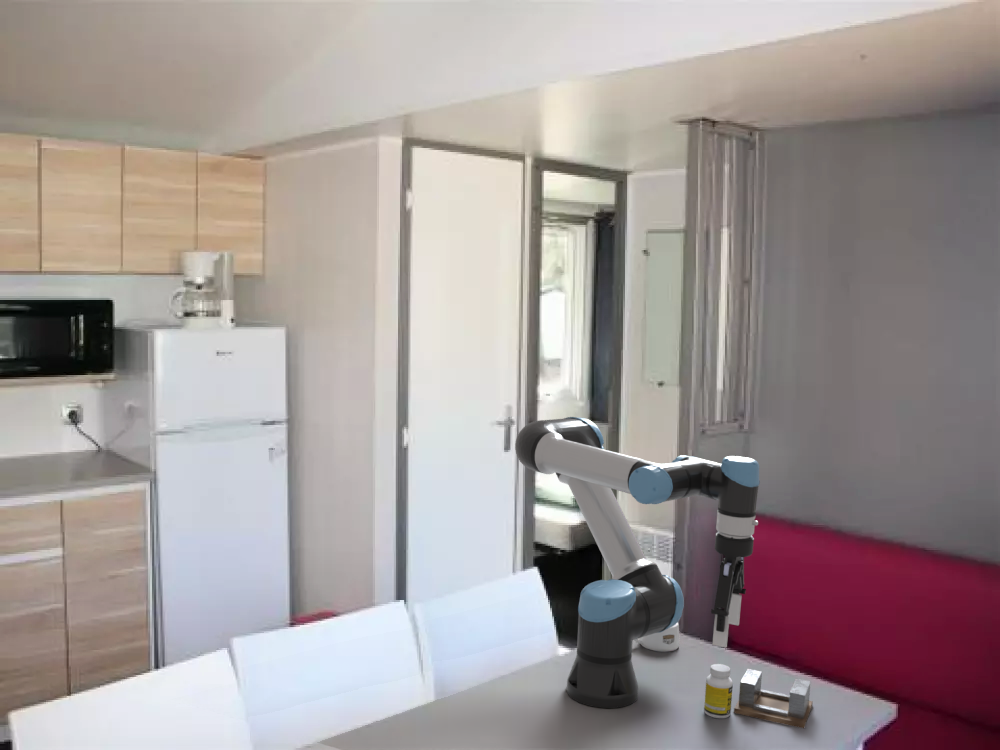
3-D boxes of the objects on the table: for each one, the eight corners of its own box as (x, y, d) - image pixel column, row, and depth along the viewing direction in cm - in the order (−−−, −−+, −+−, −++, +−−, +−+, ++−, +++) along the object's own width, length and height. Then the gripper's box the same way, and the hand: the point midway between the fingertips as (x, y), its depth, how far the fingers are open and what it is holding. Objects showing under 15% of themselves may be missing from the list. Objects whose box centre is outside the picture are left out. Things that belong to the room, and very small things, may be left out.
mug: (666, 636, 244) (668, 613, 243) (686, 651, 234) (688, 626, 234) (623, 640, 240) (625, 616, 239) (642, 655, 230) (643, 630, 230)
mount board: (733, 712, 201) (734, 708, 201) (745, 691, 212) (745, 687, 212) (804, 728, 195) (804, 723, 195) (812, 705, 206) (812, 701, 206)
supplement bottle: (731, 720, 197) (734, 674, 197) (703, 717, 199) (706, 671, 198) (730, 709, 203) (733, 664, 202) (703, 706, 204) (706, 661, 203)
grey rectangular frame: (737, 706, 202) (739, 683, 202) (746, 689, 211) (748, 667, 210) (802, 720, 197) (804, 696, 196) (809, 703, 205) (811, 680, 205)
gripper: (742, 552, 184) (733, 659, 187) (763, 522, 207) (754, 618, 209) (703, 545, 187) (694, 651, 190) (727, 517, 210) (719, 612, 212)
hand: (726, 634), depth 199 cm, fingers open, 13 cm apart
